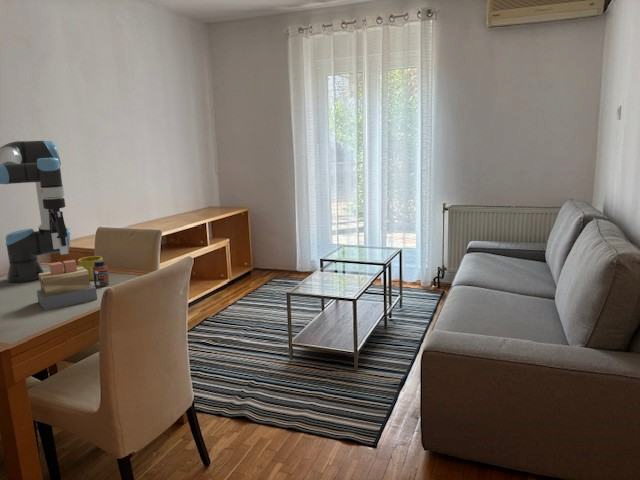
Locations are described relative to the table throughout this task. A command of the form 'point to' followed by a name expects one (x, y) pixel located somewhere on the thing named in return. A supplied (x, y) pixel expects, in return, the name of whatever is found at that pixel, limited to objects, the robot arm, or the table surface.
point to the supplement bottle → (100, 274)
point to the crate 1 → (56, 268)
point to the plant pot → (89, 264)
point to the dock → (66, 298)
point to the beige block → (64, 281)
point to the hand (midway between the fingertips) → (60, 251)
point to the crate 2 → (70, 266)
